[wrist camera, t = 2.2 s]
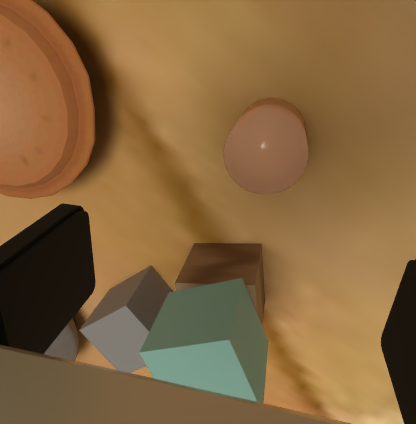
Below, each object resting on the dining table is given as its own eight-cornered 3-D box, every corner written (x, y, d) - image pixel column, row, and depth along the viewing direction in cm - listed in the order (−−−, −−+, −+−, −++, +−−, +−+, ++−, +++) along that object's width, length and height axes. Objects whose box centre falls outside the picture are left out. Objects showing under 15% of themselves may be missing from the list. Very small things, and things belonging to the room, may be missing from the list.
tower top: (242, 277, 25) (229, 339, 20) (268, 341, 27) (262, 413, 22) (168, 292, 27) (139, 352, 22) (197, 350, 29) (176, 418, 24)
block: (151, 265, 34) (125, 305, 29) (188, 309, 36) (170, 356, 30) (109, 288, 37) (79, 330, 31) (146, 329, 38) (122, 375, 33)
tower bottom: (261, 243, 31) (254, 285, 25) (264, 299, 33) (259, 348, 28) (194, 243, 32) (175, 282, 27) (202, 297, 34) (186, 343, 29)
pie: (14, 203, 35) (-26, 227, 30) (-88, 41, 30) (-155, 40, 25) (148, 152, 29) (123, 171, 25) (51, -56, 24) (-3, -78, 20)
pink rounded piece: (310, 101, 25) (315, 116, 20) (299, 168, 27) (300, 199, 22) (240, 95, 26) (226, 108, 20) (234, 161, 28) (221, 189, 23)
